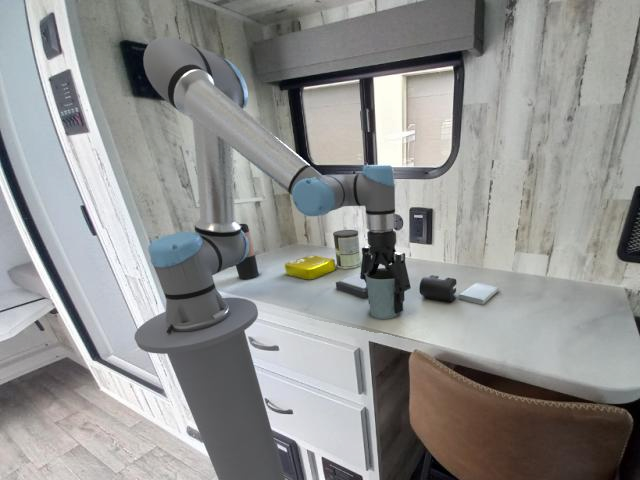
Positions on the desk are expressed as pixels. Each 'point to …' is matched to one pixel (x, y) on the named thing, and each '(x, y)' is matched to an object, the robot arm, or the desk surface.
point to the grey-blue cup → (381, 294)
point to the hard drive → (478, 293)
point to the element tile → (310, 267)
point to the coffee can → (347, 249)
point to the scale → (353, 286)
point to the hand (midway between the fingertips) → (385, 307)
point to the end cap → (438, 288)
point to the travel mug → (248, 259)
